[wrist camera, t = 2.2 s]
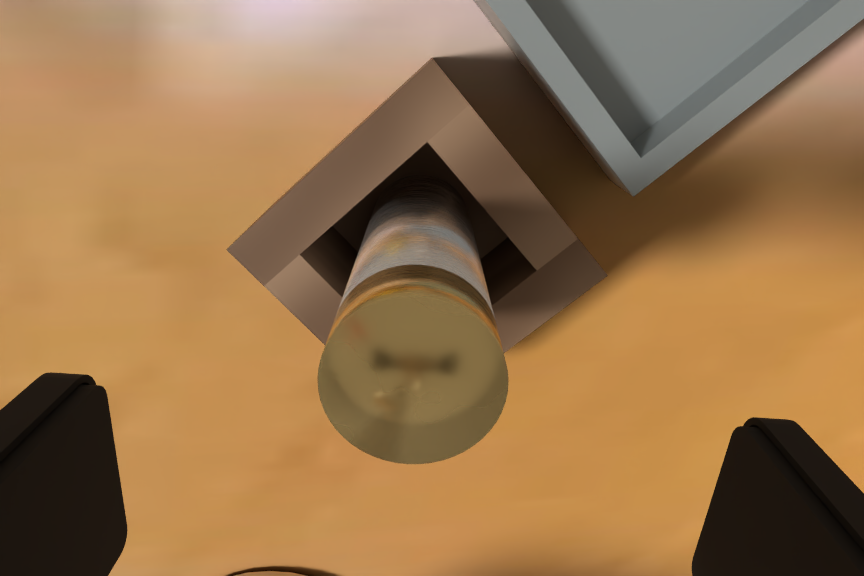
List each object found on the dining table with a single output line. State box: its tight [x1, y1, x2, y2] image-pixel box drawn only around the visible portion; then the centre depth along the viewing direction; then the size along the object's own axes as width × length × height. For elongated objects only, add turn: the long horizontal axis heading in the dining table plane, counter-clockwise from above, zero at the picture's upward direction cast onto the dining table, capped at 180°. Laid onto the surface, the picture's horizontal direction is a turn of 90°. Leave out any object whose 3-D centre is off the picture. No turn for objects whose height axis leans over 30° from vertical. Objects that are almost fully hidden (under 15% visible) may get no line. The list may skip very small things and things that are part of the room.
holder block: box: [226, 58, 608, 353], centre depth 23 cm, size 9×9×6 cm
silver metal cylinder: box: [318, 175, 508, 464], centre depth 19 cm, size 4×4×13 cm
